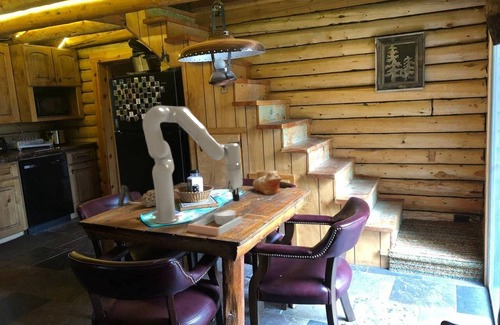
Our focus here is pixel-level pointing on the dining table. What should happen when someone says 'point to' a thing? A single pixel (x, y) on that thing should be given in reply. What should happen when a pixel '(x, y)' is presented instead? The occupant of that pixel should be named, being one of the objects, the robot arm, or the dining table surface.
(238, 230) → the dining table surface
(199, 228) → the bay
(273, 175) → the bread loaf
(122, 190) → the phone stand
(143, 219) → the dining table surface
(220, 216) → the ramekin
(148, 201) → the knobbly ball on stick
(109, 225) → the dining table surface
